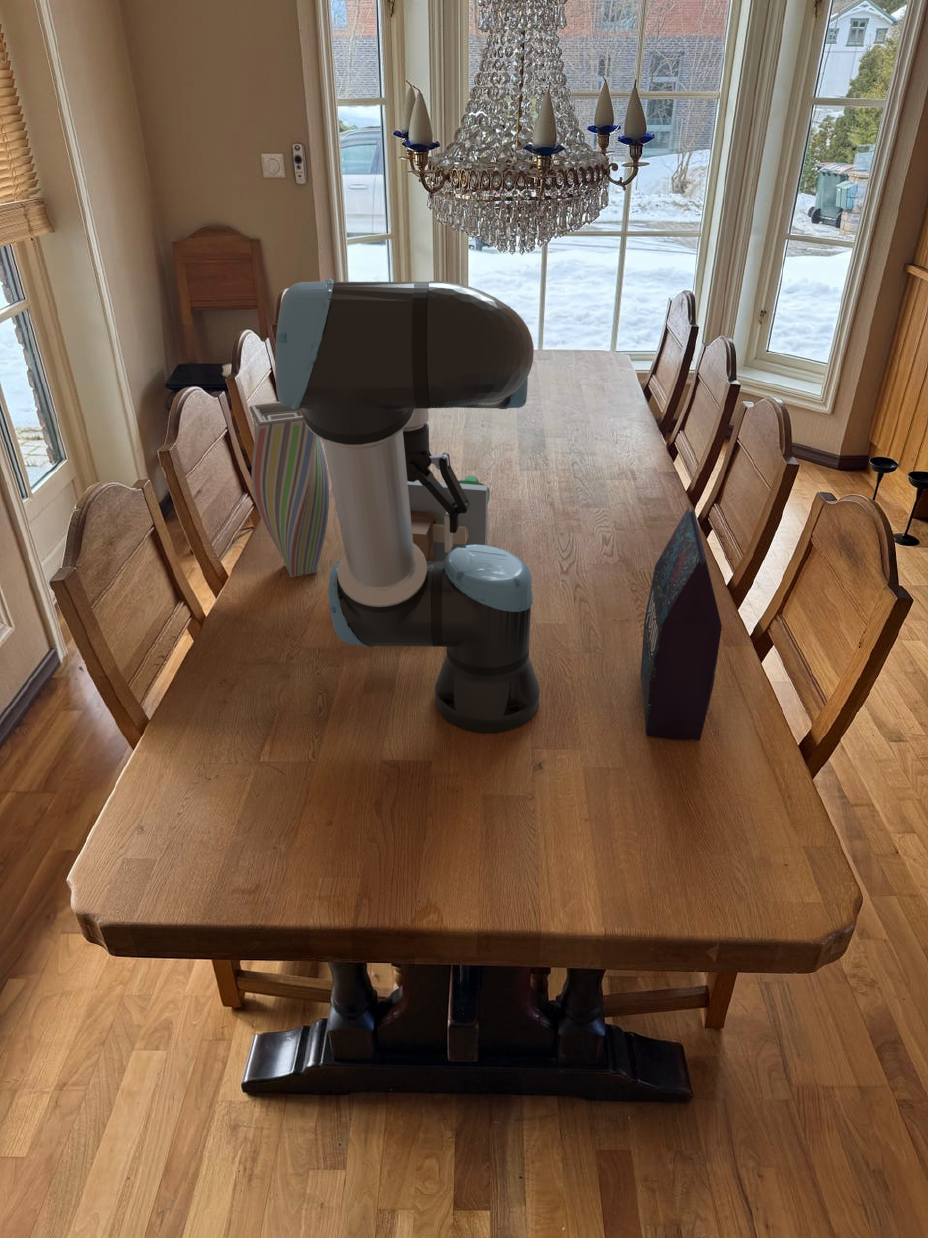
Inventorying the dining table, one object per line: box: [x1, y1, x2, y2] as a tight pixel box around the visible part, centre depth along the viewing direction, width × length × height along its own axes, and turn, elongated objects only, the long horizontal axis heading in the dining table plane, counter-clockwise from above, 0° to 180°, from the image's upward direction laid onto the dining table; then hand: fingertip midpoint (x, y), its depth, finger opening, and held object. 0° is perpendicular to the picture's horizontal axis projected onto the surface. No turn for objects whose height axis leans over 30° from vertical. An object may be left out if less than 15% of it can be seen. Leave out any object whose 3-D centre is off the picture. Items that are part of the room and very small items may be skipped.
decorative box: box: [640, 507, 723, 741], centre depth 119 cm, size 8×16×28 cm, turn 173°
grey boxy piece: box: [407, 480, 489, 561], centre depth 155 cm, size 11×24×18 cm, turn 79°
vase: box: [248, 401, 330, 578], centre depth 152 cm, size 14×14×30 cm
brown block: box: [410, 511, 436, 561], centre depth 149 cm, size 9×7×10 cm
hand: (409, 545), depth 147 cm, fingers open, 13 cm apart
